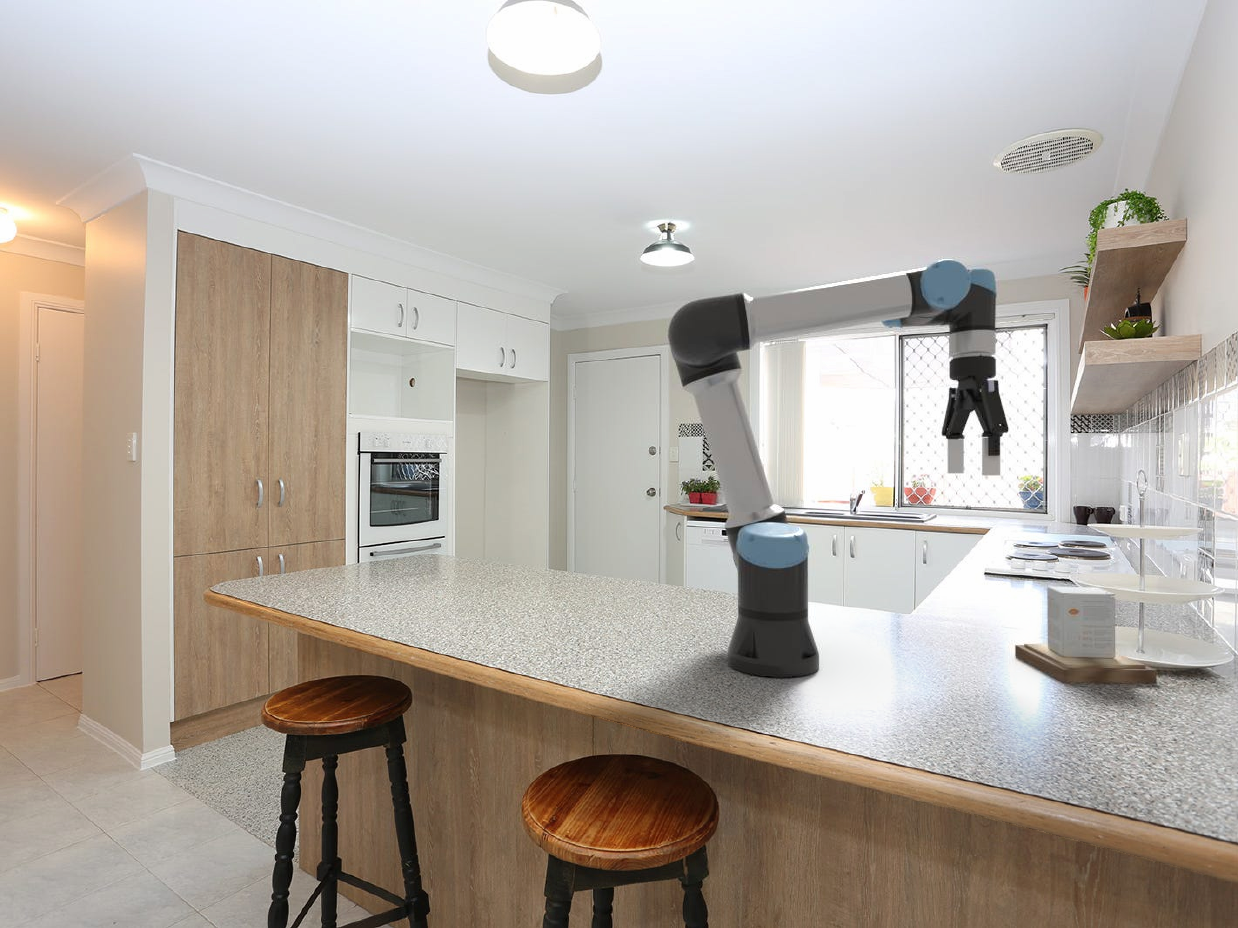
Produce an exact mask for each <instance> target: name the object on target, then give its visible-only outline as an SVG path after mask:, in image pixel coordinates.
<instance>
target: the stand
mask: <svg viewBox="0 0 1238 928" xmlns="http://www.w3.org/2000/svg"><path fill="white" fill-rule="evenodd" d="M1014 646H1015V647H1014V649H1015V650H1014V651H1015V653H1014V656H1015V657H1016V658H1018V659H1019V660H1021V661H1023V662H1025V663H1026V664H1028V665H1030V666H1032V667H1034V668H1036V669H1037V670H1040V671H1042V672H1043V673H1044V674H1047V675H1048V676H1051V677H1053V678H1054V679H1056V680H1058V681H1060V682H1062V683H1065V684H1066V683H1067V684H1069V683H1072V684H1076V683H1079V684H1083V683H1084V684H1085V683H1086V684H1099V683H1100V684H1102V683H1103V684H1157V677H1158V675H1157V674H1158V673H1157V670H1158V669H1155V668H1153V667H1150V666H1148V665H1146V664H1144V663H1142V662H1139V661H1137V660H1135V659H1131V658H1129V657H1128V656H1125V655H1123V654H1121V653H1118V652H1116V651H1115V654H1116V655H1115V658H1085V657H1063V656H1061V655H1059V654H1058V653H1056V652H1054V651H1053V650H1051V649H1049V648H1048V643H1024V644H1015V645H1014Z"/></svg>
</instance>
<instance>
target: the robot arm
mask: <svg viewBox="0 0 1238 928" xmlns="http://www.w3.org/2000/svg"><path fill="white" fill-rule="evenodd" d="M996 282H997V281H996V276H995V273H994V272H993V271H992V270H991V269H988V268H979V267H977V268H970V269H967V267H966V266H965V264H963V263H962V262H959V261H957V260H956V259H955V260H954V259H951V258H950V259H949V258H947V259H946V258H945V259H941V260H938V261H935V262H933V263H931V264H928V266H927V267H923V268H918V269H912V270H911V269H909V270H907V271H899V272H893V273H889V274H881V275H878V276H876V275H875V276H870V277H865V278H859V279H853V280H852V279H851V280H847V281H841V282H837V283H835V282H833V283H829V284H823V285H818V286H811V287H808V288H807V287H806V288H800V289H795V290H793V289H792V290H788V291H782V292H776V293H771V294H765V295H760V296H753V297H750V296H749V295H747V294H746V293H744V292H741V293H734V294H729V295H720V296H714V297H713V296H712V297H707V298H701V299H696V300H693V301H690V302H688V303H686V304H684V305H683V306H682V307H680V308H679V309H677V311H676V312H675V313H674V315H673V316H672V318H671V320H670V322H669V325H668V329H667V332H668V333H667V336H668V344H669V346H670V351H671V355H672V359H673V360H674V363H675V366H676V369H677V373H678V376H679V379H680V382H681V385H682V388H683V390H684V391H686V392H688V393H690V394H692V396H693V398H694V401H695V405H696V408H697V412H698V415H699V418H700V421H701V425H702V427H703V431H704V434H705V435H704V436H705V438H706V441H707V445H708V447H709V451H710V454H711V457H712V461H713V464H714V467H715V471H716V474H717V477H718V481H719V484H720V488H721V491H722V495H723V499H724V501H725V505H726V509H727V512H728V514H729V515H728V518H727V520H726V521H725V523H724V529H725V532H726V536H727V539H728V543H729V546H730V549H731V553H732V559H733V562H734V565H735V568H736V569H737V606H738V607H737V618H736V619H737V620H736V623H735V626H734V629H733V632H732V636H731V638H730V640H729V641H730V642H729V644H728V648H727V663H728V665H729V666H730V667H731V668H732V669H735V670H737V671H739V672H742V673H745V674H750V675H752V676H753V675H754V676H759V677H760V676H761V677H766V676H770V677H769V678H793V677H792V676H797V677H802V676H808V675H810V674H813V672H814V673H815V672H817V671H819V669H820V652H819V649H818V646H817V643H816V641H815V636H814V635H813V632H812V629H811V625H810V622H809V569H808V568H809V566H808V565H809V561H808V559H809V553H810V545H809V542H808V536H807V532H806V531H805V530H804V529H803V528H802V527H799V526H797V525H791V524H789V520H788V518H787V514H786V511H785V509H784V508H783V507H782V506H779V505H778V504H776V503H775V502H774V500H773V497H772V494H771V489H770V486H769V483H768V479H767V476H766V474H765V469H764V466H763V463H762V460H761V456H760V453H759V450H758V447H757V444H756V443H757V442H756V441H755V437H754V433H753V430H752V427H751V423H750V419H749V417H748V414H747V410H746V406H745V403H744V401H743V397H742V393H741V389H740V387H739V383H738V380H739V378H740V376H741V374H742V372H743V368H742V366H741V362H740V358H739V355H738V352H743V351H748V350H749V351H750V350H752V349H753V347H754V346H755V345H756V343H760V342H761V343H762V342H767V341H772V340H779V339H784V338H791V337H796V336H802V335H807V334H808V335H809V334H814V333H821V332H827V331H832V330H839V329H844V328H851V327H856V326H861V325H862V326H863V325H866V324H867V325H868V324H875V323H880V322H881V323H882V325H883V326H885V327H888V328H889V327H891V328H892V327H894V328H900V329H901V328H902V329H903V328H907V327H908V328H909V327H910V328H911V327H928V326H933V327H934V326H942V327H943V326H948V327H949V330H948V331H949V332H948V333H949V335H948V354H949V357H950V358H952V359H951V360H950V361H949V366H948V367H949V372H948V373H949V379H950V380H952V381H957V386H952V387H949V389H948V400H947V406H946V410H945V415H944V420H943V424H942V430H941V436H942V437H945V439H946V440H947V474H964V473H965V471H964V468H965V466H964V465H965V459H964V458H965V455H964V453H965V451H964V450H965V449H964V445H965V444H964V441H965V435H964V434H963V433H964V430H965V427H966V425H967V424H968V420H969V417H970V415H971V412H975V414H976V417H977V419H978V422H979V424H980V427H981V428H982V433H981V435H980V436H981V437H982V438H981V476H1001V437H1003V435H1004V434H1007V433H1008V432H1009V424H1008V421H1007V417H1006V413H1005V410H1004V409H1005V408H1004V406H1003V403H1002V398H1001V395H1000V389H999V381H998V379H997V380H996V379H994V378H995V377H996V375H997V358H996V357H995V356H994V355H995V354H996V349H997V348H996V344H997V343H998V339H997V338H996V337H997V336H996V331H997V330H996V329H997V328H996V320H997V319H996V317H997V316H996V315H997V313H996V312H997V311H996V310H997V294H998V293H997V284H996ZM992 355H993V356H992ZM816 670H817V671H816ZM771 676H772V677H771ZM790 676H791V677H790Z"/></svg>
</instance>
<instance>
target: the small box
mask: <svg viewBox="0 0 1238 928" xmlns="http://www.w3.org/2000/svg"><path fill="white" fill-rule="evenodd" d="M1046 589H1047V590H1046V591H1047V592H1046V595H1047V596H1046V599H1047V601H1046V602H1047V604H1046V605H1047V611H1046V613H1047V614H1046V615H1047V618H1046V619H1047V644H1048V648H1049V649H1051V650H1053V651H1054V652H1056V653H1058V654H1059V655H1061V656H1063V657H1085V658H1115V655H1116V654H1115V652H1116V594H1115V593H1113V592H1111V591H1110V592H1109V591H1107V590H1105V589H1103V588H1100V587H1097V586H1096V587H1093V586H1092V587H1088V586H1087V587H1083V586H1081V587H1079V586H1047V588H1046ZM1111 596H1115V598H1114V597H1111Z"/></svg>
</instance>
